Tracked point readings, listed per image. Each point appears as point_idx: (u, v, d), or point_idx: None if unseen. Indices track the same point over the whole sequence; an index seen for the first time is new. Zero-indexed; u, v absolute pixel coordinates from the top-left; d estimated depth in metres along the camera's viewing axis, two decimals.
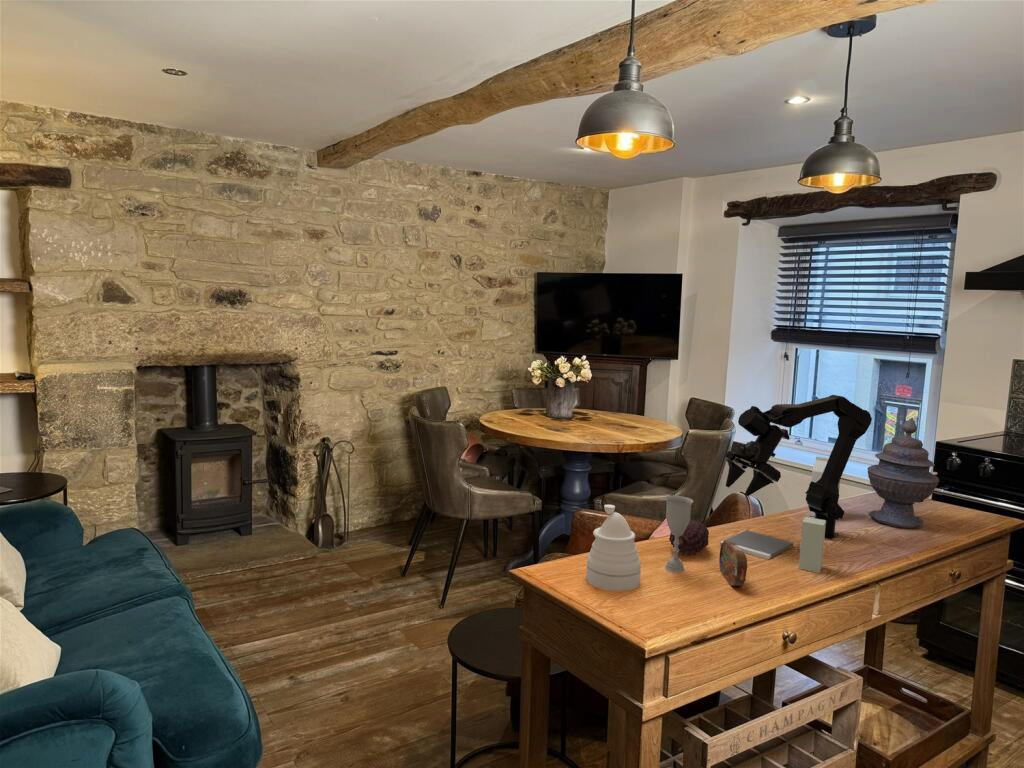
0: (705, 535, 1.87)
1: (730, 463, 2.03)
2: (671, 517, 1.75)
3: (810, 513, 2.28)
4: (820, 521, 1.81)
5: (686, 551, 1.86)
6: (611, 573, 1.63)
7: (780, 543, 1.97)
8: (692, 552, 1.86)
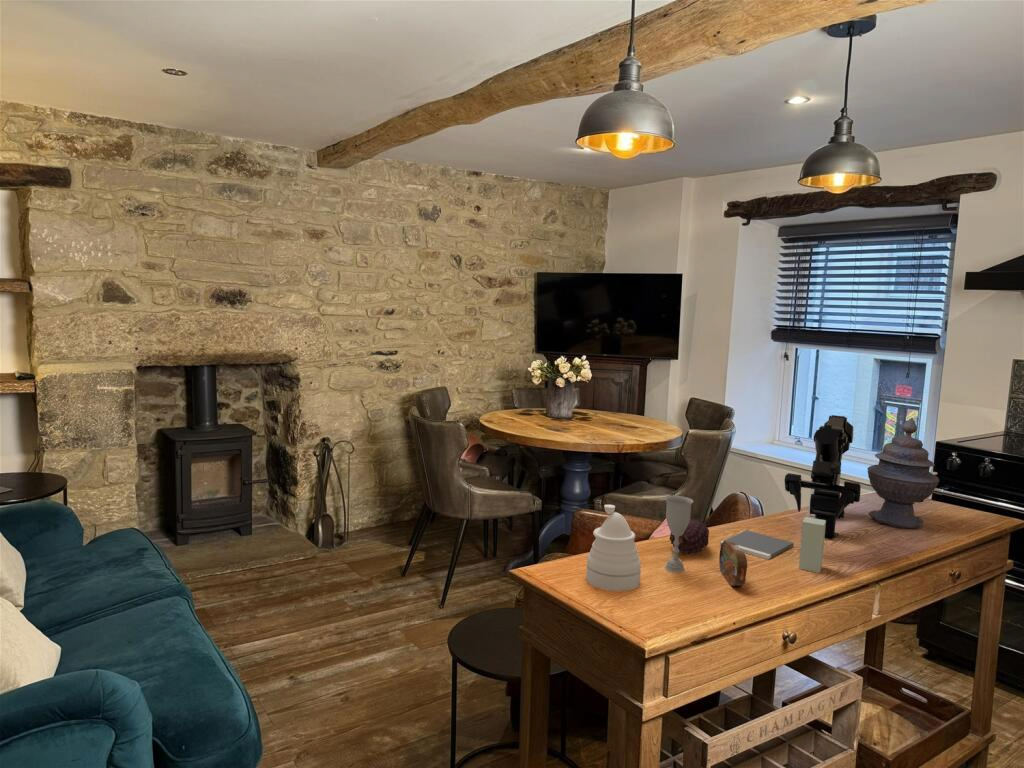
0: (705, 534, 1.88)
1: (798, 486, 1.91)
2: (671, 517, 1.75)
3: None
4: (820, 521, 1.81)
5: (686, 550, 1.87)
6: (611, 573, 1.63)
7: (780, 543, 1.97)
8: (692, 551, 1.87)
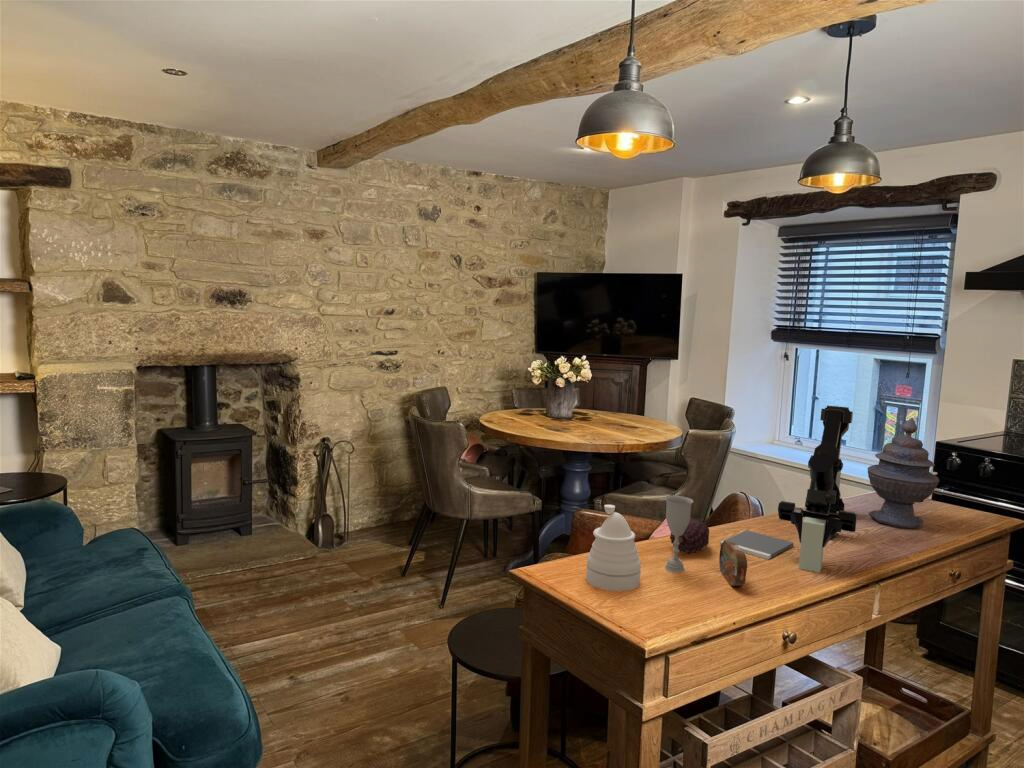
0: (705, 534, 1.88)
1: (799, 516, 1.84)
2: (671, 517, 1.75)
3: None
4: (820, 521, 1.81)
5: (686, 549, 1.88)
6: (611, 573, 1.63)
7: (780, 543, 1.97)
8: (692, 551, 1.87)
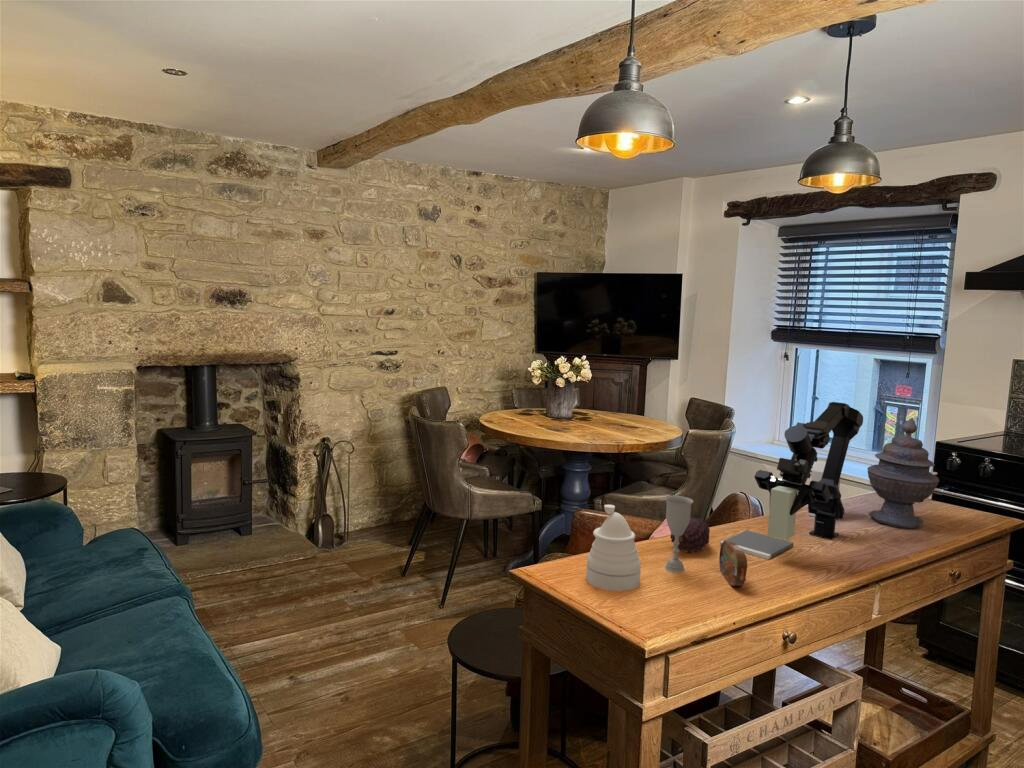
0: (706, 533, 1.89)
1: (772, 484, 1.88)
2: (671, 517, 1.75)
3: (810, 513, 2.28)
4: (790, 490, 1.84)
5: (686, 549, 1.88)
6: (611, 573, 1.63)
7: (780, 543, 1.97)
8: (692, 550, 1.88)
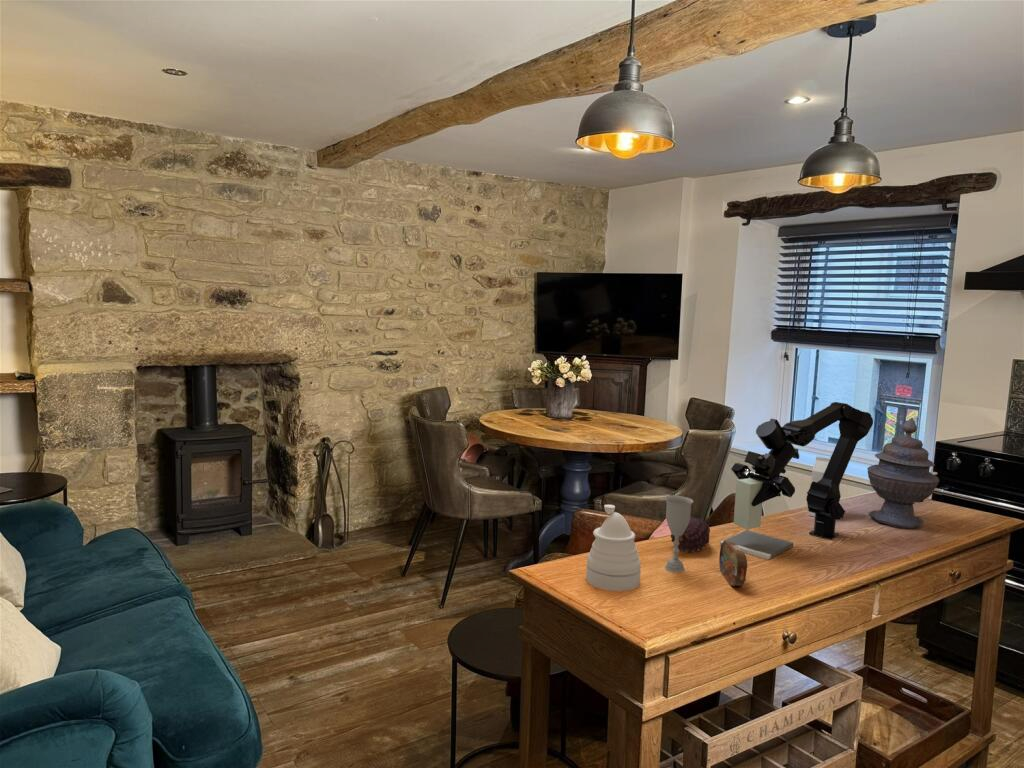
0: (706, 533, 1.89)
1: (743, 476, 1.96)
2: (671, 517, 1.75)
3: (810, 513, 2.28)
4: (755, 482, 1.92)
5: (686, 548, 1.89)
6: (611, 573, 1.63)
7: (780, 543, 1.97)
8: (692, 549, 1.88)
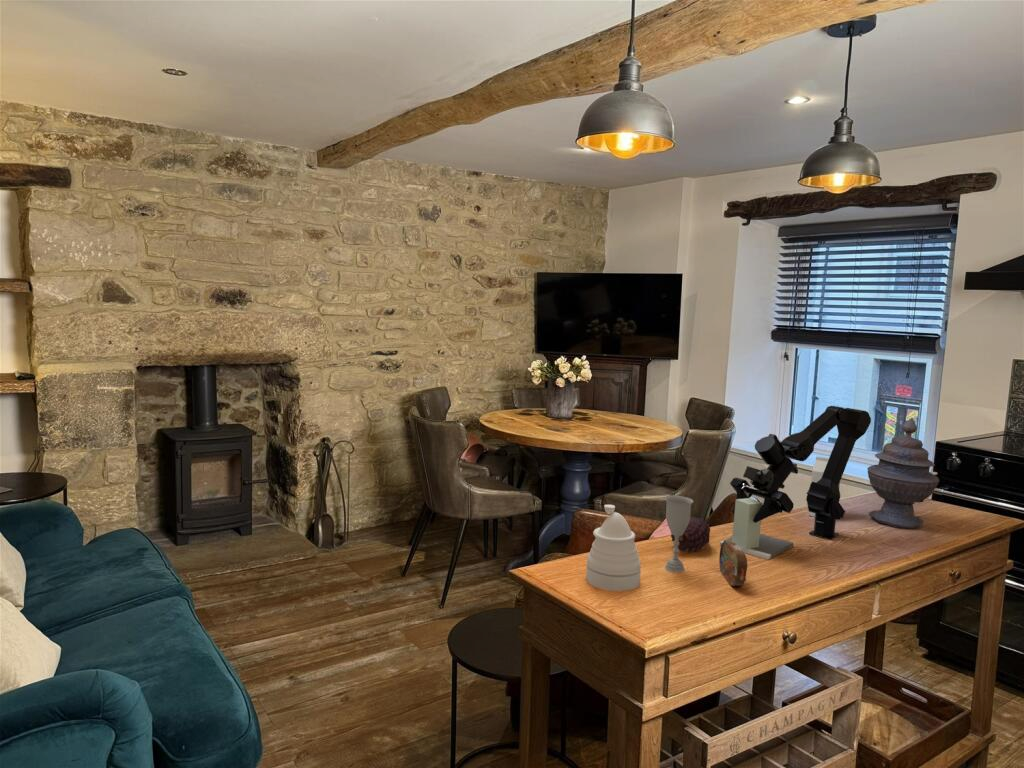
0: (706, 532, 1.90)
1: (739, 490, 1.98)
2: (671, 517, 1.75)
3: (810, 513, 2.28)
4: (754, 502, 1.92)
5: (687, 548, 1.89)
6: (611, 573, 1.63)
7: (780, 543, 1.97)
8: (692, 549, 1.89)
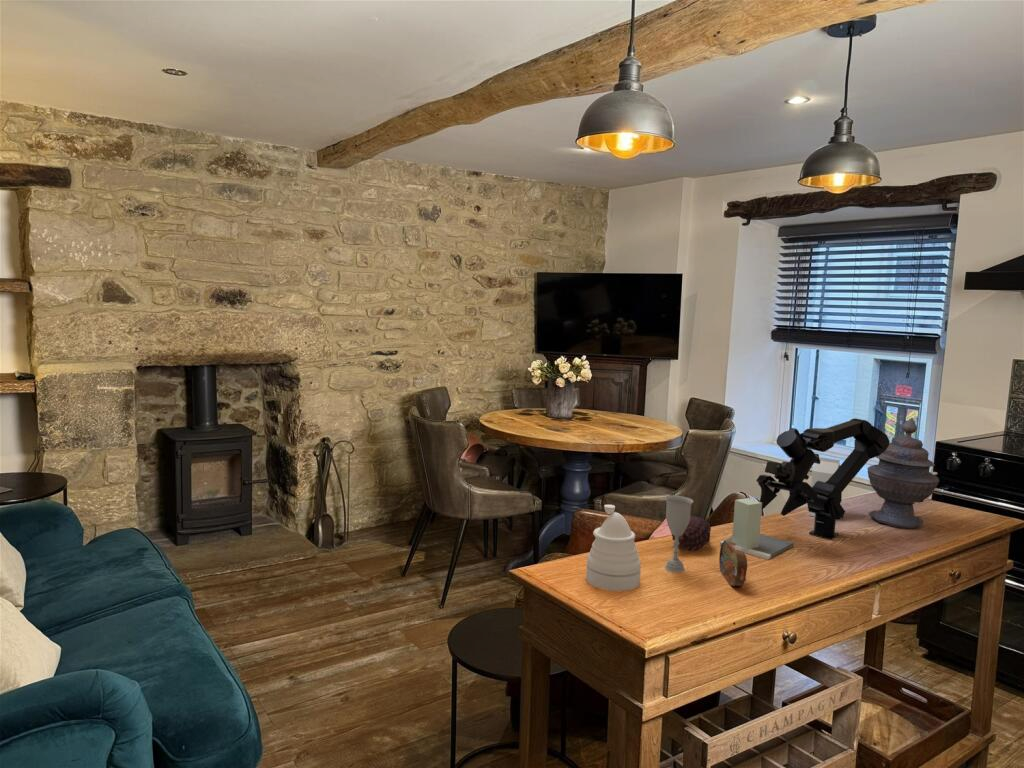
0: (706, 531, 1.90)
1: (763, 486, 2.03)
2: (671, 517, 1.75)
3: (810, 513, 2.28)
4: (753, 502, 1.92)
5: (687, 546, 1.90)
6: (611, 573, 1.63)
7: (780, 543, 1.97)
8: (693, 548, 1.90)
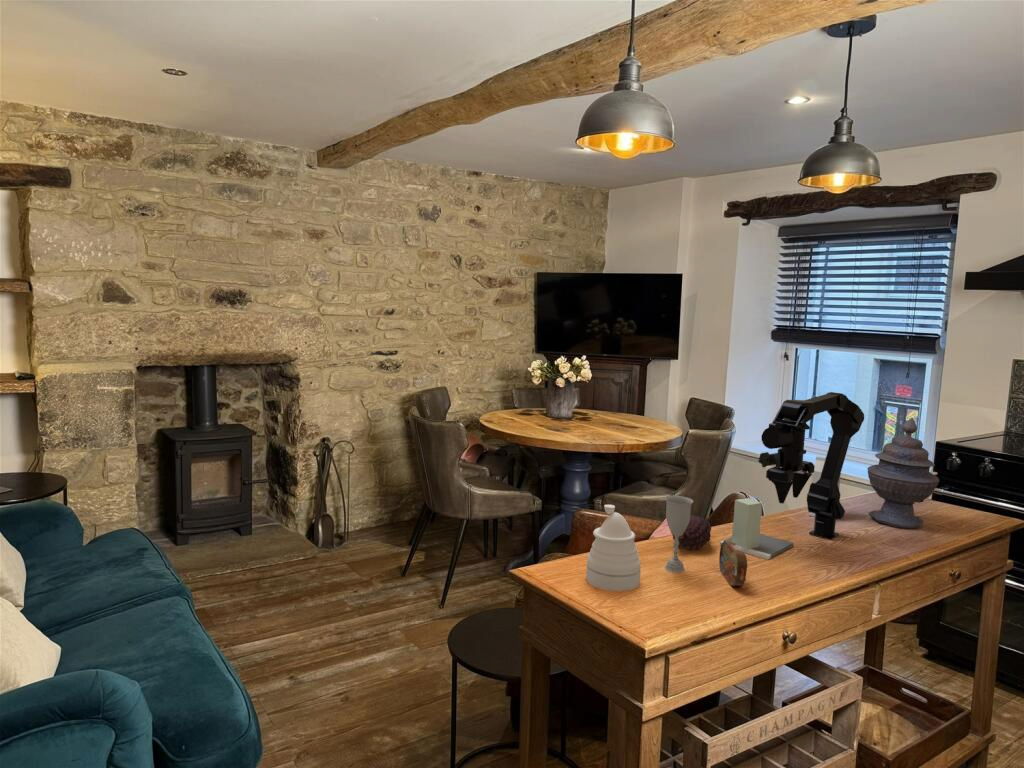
0: (707, 531, 1.91)
1: None
2: (671, 517, 1.75)
3: (810, 513, 2.28)
4: (753, 502, 1.92)
5: (687, 546, 1.91)
6: (611, 573, 1.63)
7: (780, 543, 1.97)
8: (693, 547, 1.90)
